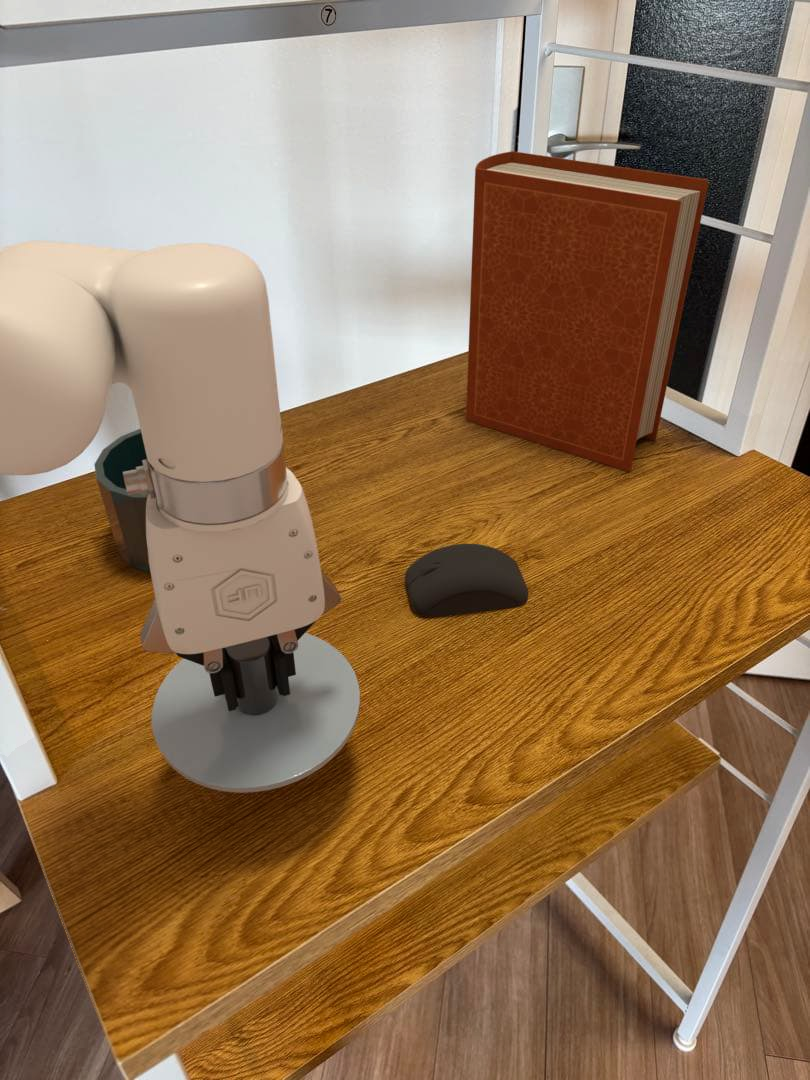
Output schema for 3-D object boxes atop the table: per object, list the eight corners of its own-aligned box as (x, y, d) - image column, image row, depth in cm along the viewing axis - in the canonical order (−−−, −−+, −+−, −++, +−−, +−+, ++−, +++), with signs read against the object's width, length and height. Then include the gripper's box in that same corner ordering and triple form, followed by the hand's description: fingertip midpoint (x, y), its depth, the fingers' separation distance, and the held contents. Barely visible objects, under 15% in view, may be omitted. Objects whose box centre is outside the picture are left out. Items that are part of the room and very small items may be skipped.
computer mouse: (402, 575, 82) (402, 544, 79) (513, 562, 83) (516, 531, 80) (413, 619, 77) (413, 587, 74) (531, 604, 78) (535, 572, 76)
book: (655, 440, 100) (709, 179, 82) (630, 472, 95) (681, 201, 76) (490, 391, 111) (503, 149, 92) (458, 417, 105) (466, 167, 87)
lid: (170, 827, 53) (150, 762, 49) (142, 666, 64) (124, 602, 59) (388, 760, 57) (387, 695, 53) (327, 619, 68) (322, 556, 64)
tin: (124, 589, 80) (100, 510, 75) (111, 511, 90) (90, 436, 85) (261, 556, 84) (249, 479, 78) (235, 485, 94) (222, 411, 88)
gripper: (74, 542, 42) (143, 763, 54) (376, 479, 47) (381, 695, 58) (66, 466, 48) (131, 681, 59) (337, 416, 52) (349, 625, 64)
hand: (255, 687), depth 59 cm, fingers closed on lid, 3 cm apart
